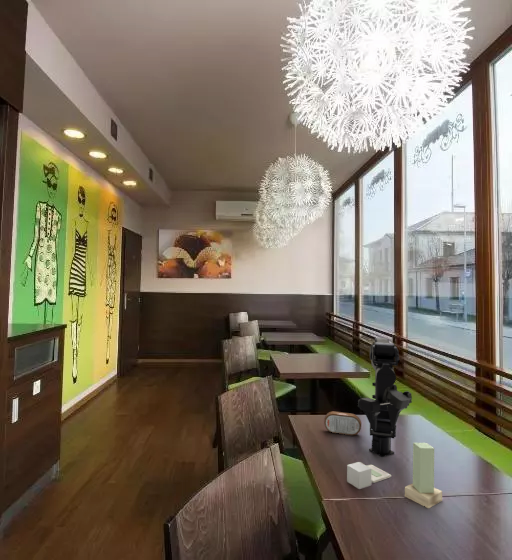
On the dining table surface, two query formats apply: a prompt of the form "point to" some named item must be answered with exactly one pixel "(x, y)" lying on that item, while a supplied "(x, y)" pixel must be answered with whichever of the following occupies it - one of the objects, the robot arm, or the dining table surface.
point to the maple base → (423, 496)
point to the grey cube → (359, 475)
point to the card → (378, 474)
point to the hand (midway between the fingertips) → (383, 428)
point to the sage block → (423, 467)
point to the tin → (342, 423)
